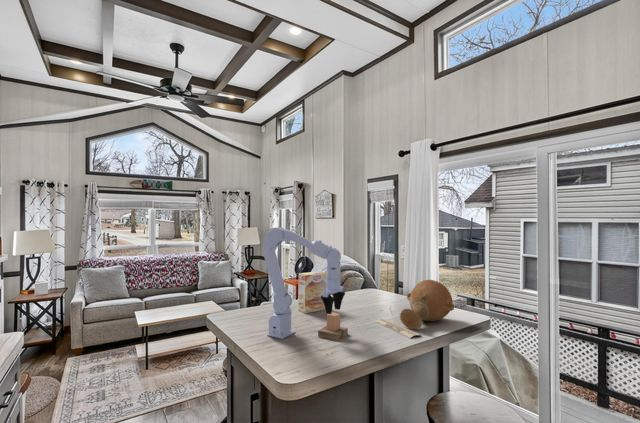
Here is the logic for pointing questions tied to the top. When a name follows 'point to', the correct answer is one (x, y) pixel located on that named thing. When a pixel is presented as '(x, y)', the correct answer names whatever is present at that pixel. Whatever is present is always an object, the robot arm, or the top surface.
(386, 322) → the newspaper
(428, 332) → the top surface
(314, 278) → the coffeecake box
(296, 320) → the top surface
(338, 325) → the terracotta block
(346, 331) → the walnut base block
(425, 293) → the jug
